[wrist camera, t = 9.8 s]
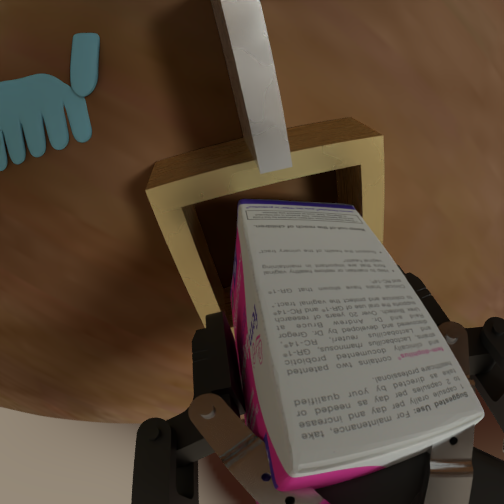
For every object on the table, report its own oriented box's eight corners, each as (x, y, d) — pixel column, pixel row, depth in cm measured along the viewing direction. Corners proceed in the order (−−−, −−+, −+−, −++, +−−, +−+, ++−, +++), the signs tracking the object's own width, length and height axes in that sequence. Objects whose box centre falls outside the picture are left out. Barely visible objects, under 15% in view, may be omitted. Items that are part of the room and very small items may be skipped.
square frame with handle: (111, 17, 11) (72, 5, 7) (327, -26, 11) (376, -48, 7) (237, 367, 26) (245, 418, 22) (354, 335, 26) (375, 382, 22)
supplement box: (231, 196, 14) (294, 479, 5) (354, 202, 15) (498, 408, 6) (224, 295, 17) (256, 516, 8) (326, 292, 18) (404, 479, 9)
